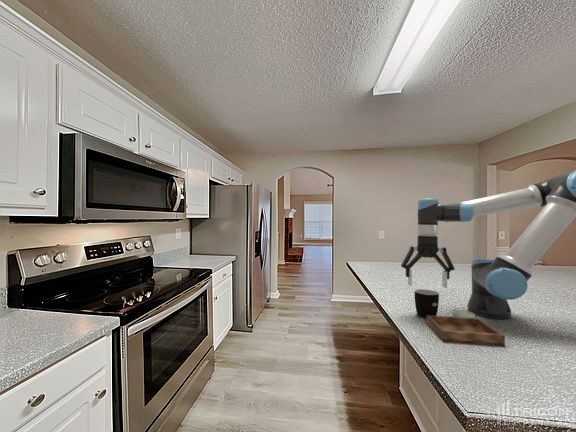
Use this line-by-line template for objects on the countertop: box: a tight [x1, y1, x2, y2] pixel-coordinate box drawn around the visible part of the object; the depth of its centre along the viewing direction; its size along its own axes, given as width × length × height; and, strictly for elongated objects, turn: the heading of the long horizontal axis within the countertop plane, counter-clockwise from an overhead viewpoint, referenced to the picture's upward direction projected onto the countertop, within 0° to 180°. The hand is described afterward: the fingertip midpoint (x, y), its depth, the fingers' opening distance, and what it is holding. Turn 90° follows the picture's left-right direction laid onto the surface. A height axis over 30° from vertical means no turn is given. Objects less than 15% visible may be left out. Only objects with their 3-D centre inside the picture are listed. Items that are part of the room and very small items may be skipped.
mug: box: [414, 288, 440, 319], centre depth 110 cm, size 12×9×10 cm
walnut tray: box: [426, 315, 506, 347], centre depth 91 cm, size 18×15×3 cm
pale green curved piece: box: [452, 309, 476, 318], centre depth 102 cm, size 7×7×4 cm
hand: (427, 286), depth 110 cm, fingers open, 13 cm apart
